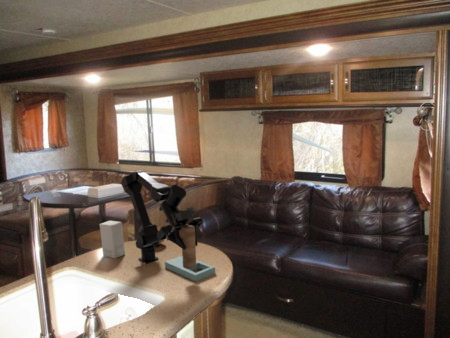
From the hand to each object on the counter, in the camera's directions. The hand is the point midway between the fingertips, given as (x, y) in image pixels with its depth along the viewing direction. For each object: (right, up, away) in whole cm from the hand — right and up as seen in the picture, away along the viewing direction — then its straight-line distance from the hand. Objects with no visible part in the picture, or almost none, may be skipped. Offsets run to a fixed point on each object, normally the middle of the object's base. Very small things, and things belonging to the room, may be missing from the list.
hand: (191, 247), depth 132 cm
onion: (-21, -9, +44) cm, 50 cm away
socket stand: (-2, -12, +12) cm, 17 cm away
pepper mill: (-1, -7, +2) cm, 8 cm away
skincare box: (-39, -11, +32) cm, 51 cm away
